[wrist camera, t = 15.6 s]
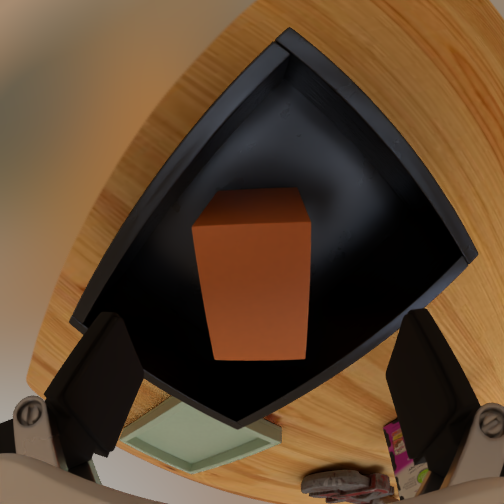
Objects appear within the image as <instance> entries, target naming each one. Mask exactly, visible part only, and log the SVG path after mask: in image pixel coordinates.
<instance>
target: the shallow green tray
mask: <svg viewBox="0 0 504 504" xmlns="http://www.w3.org/2000/svg"><path fill="white" fill-rule="evenodd" d="M119 440H120V441H122V442H123V443H125V444H127V445H129V446H131V447H133V448H135V449H137V450H139V451H140V452H142V453H144V454H146V455H148V456H151V457H153V458H155V459H157V460H159V461H161V462H163V463H166V464H168V465H170V466H172V467H175V468H177V469H180V470H182V471H184V472H187V473H189V474H194V473H199V472H202V471H206V470H209V469H212V468H215V467H219V466H222V465H225V464H228V463H231V462H234V461H237V460H239V459H242V458H245V457H248V456H250V455H253V454H256V453H258V452H261V451H263V450H266V449H268V448H271V447H273V446H275V445H278V444H280V443H282V428H281V427H279V426H277V425H275V424H273V423H271V422H269V421H267V420H264V419H262V418H261V419H259V420H258V421H256V422H254V423H252V424H250V425H248V426H245V427H243V428H241V429H239V430H237V429H234V428H232V427H230V426H228V425H226V424H224V423H222V422H220V421H218V420H216V419H214V418H212V417H210V416H208V415H206V414H204V413H202V412H200V411H198V410H197V409H195V408H193V407H191V406H189V405H187V404H186V403H184V402H182V401H180V400H179V399H177V398H175V397H173V396H171V397H169V398H168V399H166V400H165V401H164V402H162V403H161V404H159V405H158V406H156V407H155V408H154V409H152V410H151V411H149V412H148V413H146V414H145V415H143V416H142V417H140V418H139V419H137V420H136V421H134V422H133V423H131V424H130V425H128V426H127V427H125V428H124V429H123V432H122V434H121V436H120V439H119Z"/></svg>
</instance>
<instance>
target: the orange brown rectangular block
mask: <svg viewBox="0 0 504 504" xmlns="http://www.w3.org/2000/svg"><path fill="white" fill-rule="evenodd" d="M192 234H193V241H194V247H195V254H196V261H197V267H198V273H199V279H200V285H201V291H202V297H203V302H204V308H205V314H206V319H207V324H208V330H209V335H210V340H211V345H212V350H213V355H214V359H215V360H246V361H257V360H298V359H305V358H306V344H307V329H308V312H309V291H310V263H311V221H310V218H309V216H308V213H307V211H306V208H305V206H304V203H303V201H302V198H301V196H300V193H299V191H298V188H297V187H290V188H261V189H240V190H223V191H217V193H216V194H215V195H214V197H213V198H212V199H211V201H210V202H209V203H208V205H207V206H206V208H205V209H204V210H203V212H202V213H201V214H200V216H199V217H198V219H197V220H196V221H195V223H194V224H193V225H192Z"/></svg>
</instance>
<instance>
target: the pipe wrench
mask: <svg viewBox="0 0 504 504" xmlns="http://www.w3.org/2000/svg"><path fill="white" fill-rule="evenodd" d="M301 492H302V493H305V494H307V493H309V496H310V497H314V498H326V503H338V502H344V501H346V502H350V503H355V504H387V503H391V502H396V501H399V500H398V499H396V498H394V497H391V496H389V495H393V494H394V487H392V486H390V481H389V477H388V476H387V475H384V474H380V473H373V474H370V475H364V476H363V475H361V474H359V472H358V471H355V470H336V471H328V472H321V473H316V474H312V475H308V476H306V477H304V479H303V481H302V483H301ZM332 498H333V499H332Z"/></svg>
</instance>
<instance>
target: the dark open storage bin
mask: <svg viewBox="0 0 504 504" xmlns="http://www.w3.org/2000/svg"><path fill="white" fill-rule="evenodd" d="M290 187H297V188H298V191H299V193H300V196H301V198H302V201H303V203H304V206H305V208H306V211H307V213H308V216H309V218H310V221H311V263H310V291H309V312H308V329H307V344H306V358H305V359H298V360H257V361H246V360H215V359H214V355H213V350H212V345H211V340H210V335H209V330H208V324H207V319H206V314H205V308H204V302H203V297H202V291H201V285H200V279H199V273H198V267H197V261H196V254H195V247H194V241H193V234H192V225H193V224H194V223H195V221H196V220H197V219H198V217H199V216H200V214H201V213H202V212H203V210H204V209H205V208H206V206H207V205H208V203H209V202H210V201H211V199H212V198H213V197H214V195H215V194H216V193H217V191H223V190H240V189H261V188H290ZM477 256H478V252H477V250H476V248H475V246H474V244H473V242H472V240H471V238H470V236H469V234H468V233H467V231H466V229H465V227H464V225H463V224H462V222H461V220H460V218H459V217H458V215H457V213H456V212H455V210H454V208H453V207H452V205H451V203H450V202H449V200H448V199H447V197H446V195H445V194H444V192H443V191H442V189H441V188H440V186H439V185H438V183H437V182H436V180H435V179H434V177H433V176H432V174H431V173H430V172H429V170H428V169H427V167H426V166H425V165H424V163H423V162H422V161H421V159H420V158H419V156H418V155H417V154H416V152H415V151H414V150H413V149H412V147H411V146H410V145H409V143H408V142H407V141H406V140H405V138H404V137H403V136H402V135H401V133H400V132H399V131H398V130H397V129H396V127H395V126H394V125H393V124H392V123H391V122H390V120H389V119H388V118H387V117H386V116H385V115H384V114H383V112H382V111H381V110H380V109H379V108H378V107H377V106H376V105H375V104H374V103H373V101H372V100H371V99H370V98H369V97H368V96H367V95H366V94H365V93H364V92H363V91H362V90H361V89H360V88H359V87H358V86H357V85H356V84H355V83H354V82H353V81H352V80H351V79H350V78H349V77H348V76H347V75H346V74H345V73H344V72H343V71H342V70H341V69H340V68H338V67H337V66H336V65H335V64H334V63H333V62H332V61H331V60H330V59H329V58H327V57H326V56H325V55H324V54H323V53H322V52H321V51H319V50H318V49H317V48H316V47H315V46H313V45H312V44H311V43H310V42H309V41H307V40H306V39H305V38H304V37H302V36H301V35H300V34H299V33H297V32H296V31H295V30H293V29H292V28H290V27H289V28H287V29H286V30H285V31H284V32H283V33H282V34H280V35H279V36H278V37H277V38H276V39H275V41H274V42H272V43H271V44H270V45H269V46H268V47H267V48H265V49H264V50H263V51H262V52H261V53H260V54H259V55H258V56H257V57H256V58H255V59H254V60H253V61H252V62H251V63H250V64H249V65H248V66H247V67H246V68H245V69H244V70H243V71H242V72H241V74H240V75H239V76H238V77H237V78H236V79H235V80H234V81H233V82H232V83H231V84H230V85H229V86H228V87H227V88H226V90H225V91H224V92H223V93H222V94H221V95H220V96H219V97H218V98H217V100H216V101H215V102H214V103H213V104H212V105H211V106H210V108H209V109H208V110H207V111H206V112H205V113H204V115H203V116H202V117H201V118H200V119H199V120H198V122H197V123H196V124H195V125H194V126H193V128H192V129H191V130H190V131H189V133H188V134H187V135H186V136H185V138H184V139H183V140H182V141H181V143H180V144H179V145H178V146H177V148H176V149H175V150H174V152H173V153H172V154H171V156H170V157H169V158H168V160H167V161H166V162H165V164H164V165H163V166H162V168H161V169H160V170H159V172H158V173H157V174H156V176H155V177H154V179H153V180H152V181H151V183H150V184H149V186H148V187H147V189H146V190H145V191H144V193H143V194H142V196H141V197H140V199H139V200H138V202H137V203H136V205H135V206H134V208H133V209H132V211H131V212H130V214H129V215H128V217H127V218H126V220H125V222H124V223H123V225H122V226H121V228H120V230H119V231H118V233H117V234H116V236H115V238H114V239H113V241H112V243H111V244H110V246H109V248H108V249H107V251H106V253H105V254H104V256H103V258H102V260H101V261H100V263H99V265H98V267H97V268H96V270H95V272H94V274H93V276H92V277H91V279H90V281H89V283H88V285H87V287H86V289H85V291H84V292H83V294H82V296H81V298H80V300H79V302H78V304H77V306H76V308H75V310H74V312H73V315H72V316H71V318H70V321H69V323H70V324H71V325H72V326H73V327H75V328H76V329H77V330H78V331H80V332H81V333H82V334H83V335H84V334H85V333H86V331H87V330H88V329H89V327H90V326H91V324H92V323H93V322H94V320H95V319H96V318H97V316H98V315H99V314H100V313H101V312H113V313H117V314H118V315H119V317H121V318H122V319H123V320H124V323H125V326H126V328H127V331H128V334H129V336H130V339H131V341H132V344H133V346H134V349H135V351H136V353H137V356H138V358H139V361H140V363H141V365H142V368H143V370H144V379H146V380H147V381H149V382H150V383H152V384H154V385H155V386H157V387H158V388H160V389H162V390H163V391H165V392H167V393H168V394H170V395H172V396H173V397H175V398H177V399H179V400H180V401H182V402H184V403H186V404H187V405H189V406H191V407H193V408H195V409H197V410H198V411H200V412H202V413H204V414H206V415H208V416H210V417H212V418H214V419H216V420H218V421H220V422H222V423H224V424H226V425H228V426H230V427H232V428H234V429H237V430H239V429H241V428H243V427H245V426H248V425H250V424H252V423H254V422H256V421H258V420H259V419H261V418H263V417H265V416H267V415H269V414H271V413H273V412H275V411H277V410H278V409H280V408H282V407H284V406H286V405H287V404H289V403H291V402H293V401H294V400H296V399H298V398H300V397H301V396H303V395H305V394H306V393H308V392H310V391H311V390H313V389H315V388H316V387H318V386H319V385H321V384H323V383H324V382H326V381H327V380H329V379H330V378H332V377H333V376H335V375H336V374H338V373H339V372H341V371H342V370H344V369H345V368H347V367H348V366H350V365H351V364H353V363H354V362H356V361H357V360H358V359H360V358H361V357H363V356H364V355H365V354H367V353H368V352H370V351H371V350H372V349H374V348H375V347H376V346H378V345H379V344H380V343H382V342H383V341H384V340H386V339H387V338H388V337H389V336H391V335H392V334H393V333H394V332H396V331H397V330H398V329H399V328H400V326H401V323H402V319H403V316H404V315H407V314H408V312H409V310H413V309H422V308H424V307H426V306H427V305H428V304H429V303H430V302H431V301H432V300H433V299H434V298H436V297H437V296H438V295H439V294H440V293H441V292H442V291H443V290H444V289H445V288H446V287H447V286H448V285H449V284H450V283H451V282H453V281H454V280H455V279H456V278H457V277H458V276H459V275H460V274H461V273H462V272H463V271H464V270H465V269H466V268H467V266H468V264H470V263H471V262H472V261H473V260H474V259H475V258H476V257H477Z"/></svg>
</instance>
